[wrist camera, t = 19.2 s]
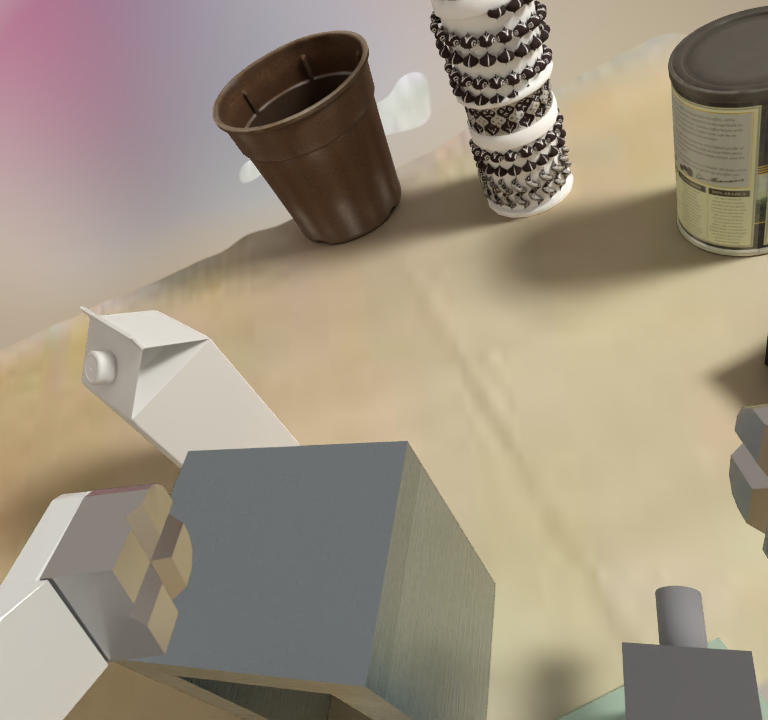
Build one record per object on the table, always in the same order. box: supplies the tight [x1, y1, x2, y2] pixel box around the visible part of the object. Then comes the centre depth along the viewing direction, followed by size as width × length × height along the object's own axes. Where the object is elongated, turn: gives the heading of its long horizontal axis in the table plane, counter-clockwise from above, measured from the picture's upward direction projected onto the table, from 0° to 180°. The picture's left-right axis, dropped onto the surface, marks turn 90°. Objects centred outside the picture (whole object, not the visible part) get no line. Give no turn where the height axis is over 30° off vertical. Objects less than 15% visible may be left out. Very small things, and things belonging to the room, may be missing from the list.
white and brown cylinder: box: [430, 0, 573, 218], centre depth 55 cm, size 9×9×25 cm
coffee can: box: [668, 6, 768, 256], centre depth 47 cm, size 10×10×14 cm
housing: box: [113, 441, 495, 720], centre depth 34 cm, size 10×12×17 cm
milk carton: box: [80, 306, 301, 469], centre depth 47 cm, size 7×7×19 cm
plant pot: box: [213, 31, 401, 244], centre depth 67 cm, size 16×16×16 cm
